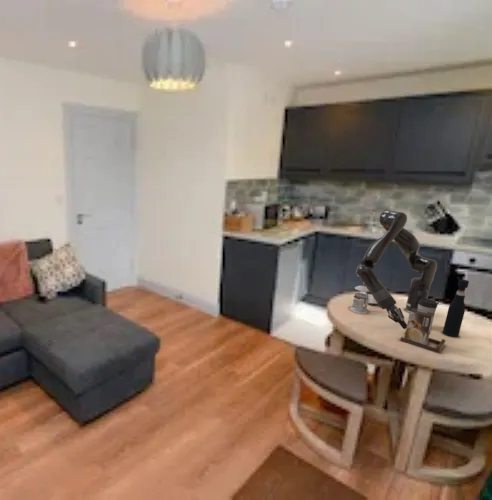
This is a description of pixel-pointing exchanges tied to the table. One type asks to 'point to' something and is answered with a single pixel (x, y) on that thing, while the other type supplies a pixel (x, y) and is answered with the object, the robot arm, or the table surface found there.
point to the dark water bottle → (456, 311)
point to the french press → (359, 304)
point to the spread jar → (371, 299)
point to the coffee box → (419, 326)
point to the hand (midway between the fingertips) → (406, 328)
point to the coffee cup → (427, 305)
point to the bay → (438, 349)
